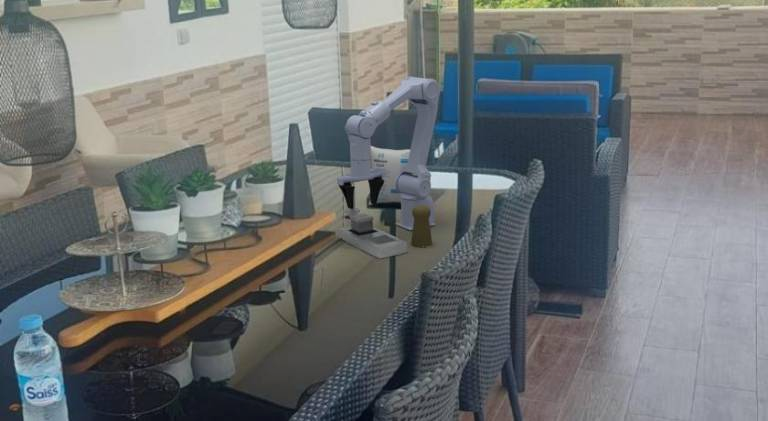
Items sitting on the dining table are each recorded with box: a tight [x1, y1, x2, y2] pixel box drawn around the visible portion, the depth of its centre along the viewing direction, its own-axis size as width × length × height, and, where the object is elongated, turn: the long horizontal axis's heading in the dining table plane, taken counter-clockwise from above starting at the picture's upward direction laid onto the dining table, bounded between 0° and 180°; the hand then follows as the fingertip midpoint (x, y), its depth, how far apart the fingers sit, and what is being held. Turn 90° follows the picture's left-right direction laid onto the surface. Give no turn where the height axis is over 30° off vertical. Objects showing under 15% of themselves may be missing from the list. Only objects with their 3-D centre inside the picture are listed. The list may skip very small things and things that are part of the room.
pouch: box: [368, 145, 418, 206], centre depth 291 cm, size 8×19×20 cm, turn 74°
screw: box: [344, 182, 361, 219], centre depth 281 cm, size 13×5×5 cm
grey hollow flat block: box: [338, 225, 408, 260], centre depth 255 cm, size 9×22×3 cm, turn 32°
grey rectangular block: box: [349, 212, 374, 236], centre depth 258 cm, size 5×5×7 cm
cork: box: [410, 205, 433, 248], centre depth 254 cm, size 6×6×11 cm
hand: (362, 206), depth 256 cm, fingers open, 7 cm apart
